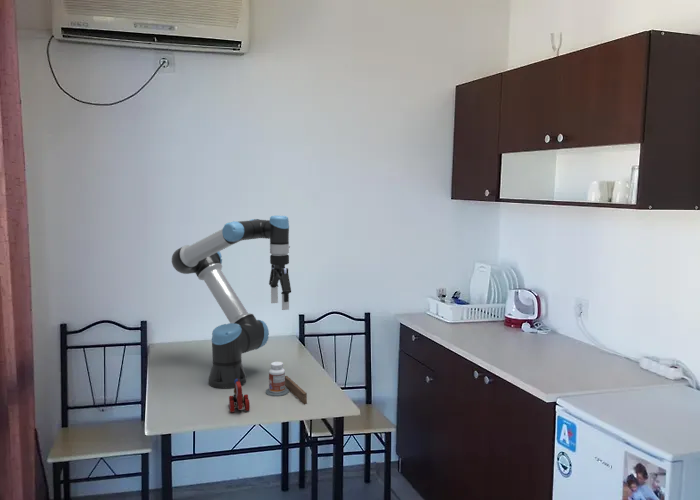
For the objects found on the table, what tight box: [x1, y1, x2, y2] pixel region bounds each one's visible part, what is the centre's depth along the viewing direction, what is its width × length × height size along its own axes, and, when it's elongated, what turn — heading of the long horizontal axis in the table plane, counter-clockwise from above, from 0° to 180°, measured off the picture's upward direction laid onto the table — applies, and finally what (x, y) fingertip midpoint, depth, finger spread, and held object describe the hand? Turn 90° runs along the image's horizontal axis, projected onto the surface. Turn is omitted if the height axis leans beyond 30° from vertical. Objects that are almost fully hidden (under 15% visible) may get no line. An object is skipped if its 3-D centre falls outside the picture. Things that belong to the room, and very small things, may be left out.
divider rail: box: [285, 375, 308, 405], centre depth 238 cm, size 1×22×4 cm, turn 26°
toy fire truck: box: [228, 379, 251, 413], centre depth 223 cm, size 7×12×10 cm, turn 14°
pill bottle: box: [268, 361, 286, 393], centre depth 240 cm, size 6×6×11 cm
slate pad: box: [265, 387, 290, 397], centre depth 240 cm, size 9×9×1 cm
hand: (279, 306), depth 249 cm, fingers open, 13 cm apart
